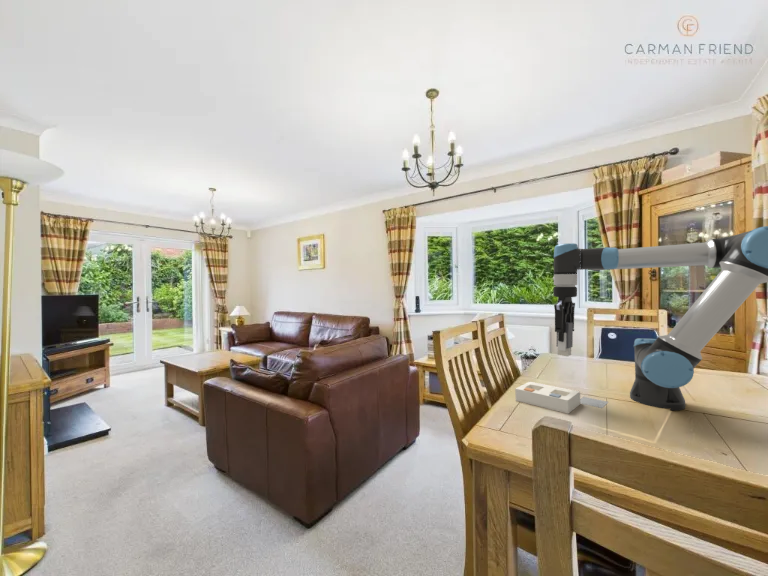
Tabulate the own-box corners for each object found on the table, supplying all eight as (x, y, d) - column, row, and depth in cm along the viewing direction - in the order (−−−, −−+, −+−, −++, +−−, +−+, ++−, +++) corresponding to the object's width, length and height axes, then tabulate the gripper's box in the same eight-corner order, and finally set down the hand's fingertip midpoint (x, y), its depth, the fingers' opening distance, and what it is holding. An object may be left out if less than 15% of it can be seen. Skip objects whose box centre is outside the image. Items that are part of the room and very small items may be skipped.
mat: (608, 403, 114) (608, 401, 114) (602, 409, 109) (602, 408, 109) (583, 398, 120) (583, 396, 120) (576, 403, 115) (576, 402, 115)
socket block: (580, 405, 114) (579, 390, 114) (568, 415, 106) (567, 399, 106) (529, 393, 127) (529, 380, 127) (515, 401, 119) (515, 387, 119)
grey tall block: (572, 354, 117) (572, 322, 117) (568, 356, 115) (568, 323, 114) (560, 353, 120) (561, 321, 120) (556, 354, 118) (556, 322, 117)
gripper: (563, 285, 125) (562, 344, 126) (544, 286, 114) (543, 351, 115) (584, 285, 119) (584, 347, 120) (567, 286, 108) (566, 354, 109)
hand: (564, 349), depth 117 cm, fingers closed on grey tall block, 4 cm apart
